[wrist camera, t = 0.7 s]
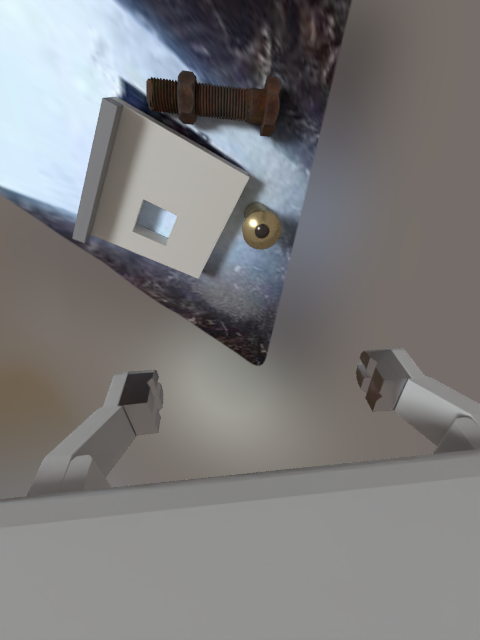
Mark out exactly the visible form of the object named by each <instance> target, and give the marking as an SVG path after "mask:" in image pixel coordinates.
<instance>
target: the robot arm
mask: <svg viewBox="0 0 480 640" xmlns="http://www.w3.org/2000/svg"><path fill="white" fill-rule="evenodd" d="M360 359H361V361H362V362H361V363H360V364H359V365H358V366H357V370H356V375H357V376H356V377H357V381H358V384H359V386H360V388H361V389H362V390H363V391H365V392H366V393H367V394H366V397H365V398H366V400H367V402H368V404H369V406H370V408H371V410H372V412H376V411H391V410H394V412H395V413H397V414H398V415H399V416H400V417H402V418H403V419H404V420H405V421H407V422H408V423H409V424H410V425H412V426H413V427H414V428H415V429H416V430H418V431H419V432H420V433H421V434H423V435H424V436H425V437H426V438H427V439H429V440H430V441H431V442H432V443H434V444H435V445H436V446H437V448H436V450H435V451H434V452H433V454H428V455H420V456H410V457H400V458H390V459H380V460H371V461H362V462H352V463H343V464H333V465H323V466H314V467H304V468H294V469H285V470H275V471H266V472H256V473H247V474H237V475H228V476H218V477H208V478H200V479H189V480H179V481H170V482H161V483H150V484H141V485H131V486H123V487H113V488H112V487H111V486H110V484H109V483H108V481H107V480H106V476H107V475H108V473H109V472H110V471H111V470H112V468H113V467H114V466H115V464H116V463H117V462H118V460H119V459H120V458H121V456H122V455H123V454H124V452H125V451H126V450H127V448H128V447H129V446H130V444H131V443H132V442H133V440H134V439H135V438H136V436H137V435H144V434H152V433H158V432H159V425H160V419H161V417H160V414H159V411H160V410H161V408H162V405H163V390H162V386H161V384H160V383H159V382H158V377H159V376H158V373H157V371H156V370H146V371H132V372H121V373H116V374H115V375H114V377H113V380H112V382H111V386H110V388H109V391H108V394H107V397H106V400H105V403H104V405H103V408H98V409H97V410H96V411H95V412H94V413H93V414H92V415H91V416H90V417H88V418H87V419H86V420H85V421H84V422H83V423H82V424H81V425H80V426H79V427H78V428H76V430H74V431H73V432H72V433H71V434H70V435H69V436H68V437H67V438H66V439H65V440H63V441H62V442H61V443H60V444H59V445H58V446H57V447H56V448H55V449H54V450H52V451H51V452H50V453H49V454H48V455H47V456H46V457H45V458H44V460H43V462H42V464H41V466H40V468H39V470H38V472H37V475H36V477H35V479H34V481H33V483H32V486H31V488H30V490H29V492H28V494H27V496H26V497H15V498H6V499H0V640H480V404H479V403H476V402H475V401H473V400H471V399H469V398H468V397H466V396H464V395H462V394H460V393H458V392H456V391H455V390H453V389H451V388H449V387H447V386H445V385H443V384H442V383H440V382H438V381H436V380H434V379H432V378H431V377H425V376H424V374H423V373H422V372H421V370H420V369H419V368H418V367H417V365H416V364H415V363H414V362H413V360H412V359H411V357H410V356H409V355H408V354H407V352H406V351H405V350H404V349H403V348H401V347H398V348H389V349H378V350H367V351H363V352H362V353H361V355H360Z"/></svg>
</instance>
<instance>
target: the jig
mask: <svg viewBox="0 0 480 640" xmlns="http://www.w3.org/2000/svg"><path fill="white" fill-rule="evenodd" d="M249 178H250V177H249V175H248V173H247V172H246V171H244V170H242V169H241V168H239V167H237V166H235V165H234V164H232V163H230V162H228V161H227V160H225V159H223V158H222V157H220V156H218V155H216V154H215V153H213V152H211V151H209V150H208V149H206V148H204V147H203V146H201V145H199V144H197V143H196V142H194V141H192V140H190V139H189V138H187V137H185V136H184V135H182V134H180V133H178V132H177V131H175V130H173V129H171V128H170V127H168V126H166V125H165V124H163V123H161V122H159V121H158V120H156V119H154V118H152V117H151V116H149V115H147V114H146V113H144V112H142V111H140V110H139V109H137V108H135V107H133V106H132V105H130V104H128V103H127V102H125V101H123V100H121V99H120V98H118V97H109V98H102V103H101V108H100V112H99V117H98V122H97V126H96V131H95V136H94V140H93V145H92V149H91V154H90V159H89V163H88V168H87V173H86V177H85V182H84V187H83V191H82V196H81V200H80V205H79V210H78V214H77V219H76V224H75V228H74V233H73V239H75V240H78V241H80V242H83V243H85V242H86V240H87V239H88V238H89V237H90V236H91V235H94V236H96V237H98V238H101V239H103V240H106V241H108V242H111V243H113V244H115V245H118V246H120V247H123V248H125V249H128V250H130V251H132V252H135V253H137V254H140V255H142V256H145V257H147V258H149V259H152V260H154V261H157V262H159V263H162V264H164V265H166V266H169V267H171V268H174V269H176V270H179V271H181V272H183V273H186V274H188V275H191V276H193V277H196V278H199V276H200V274H201V272H202V270H203V268H204V266H205V264H206V262H207V260H208V258H209V257H210V255H211V253H212V251H213V249H214V247H215V245H216V243H217V241H218V239H219V237H220V235H221V233H222V231H223V229H224V227H225V225H226V223H227V221H228V219H229V217H230V215H231V213H232V211H233V209H234V207H235V205H236V203H237V201H238V199H239V197H240V195H241V193H242V191H243V189H244V187H245V185H246V184H247V182H248V180H249ZM144 200H146V201H148V202H150V203H152V204H154V205H156V206H158V207H160V208H162V209H165V210H167V211H169V212H171V213H173V214H175V215H177V218H176V221H175V223H174V225H173V228H172V230H171V233H170V235H169V238H167V237H164V236H162V235H160V234H158V233H155V232H153V231H151V230H149V229H146V228H144V227H142V226H140V225H137V221H138V218H139V215H140V212H141V209H142V206H143V203H144Z"/></svg>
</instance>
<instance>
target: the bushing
mask: <svg viewBox="0 0 480 640" xmlns="http://www.w3.org/2000/svg"><path fill="white" fill-rule="evenodd" d="M244 217H245V220H244V222H243V226H242V232H243V237H244V240H245V241H246V243H247V244H248V245H249V246H251V247H252V248H255V249H266V248H269V247H271V246H272V245H274V244H275V243H276V242H277V240H278V239H279V237H280V234H281V224H280V222H279V220H278V218H277V216H276V215H275V214H274V213H273V212H271V211H269V210H267V208H266V207H265V205H264V204H262V203H260V202H253V203H251V204H249V205H248V206H247V207H246V209H245V212H244Z"/></svg>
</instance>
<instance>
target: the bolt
mask: <svg viewBox="0 0 480 640" xmlns="http://www.w3.org/2000/svg"><path fill="white" fill-rule="evenodd" d="M280 94H281V84H280V82H279V80H278V78H277V77H270V76H267V79H266V83H265V87H264V89H256V88H251V89H247V88H246V89H244V88H243V89H241V88H240V89H239V88H238V87H237V89H236V88H235V87H234V89H233V87H231V88H230V87H229V86H228V88H227V87H226V86H225V87H224V86H222V88H221V85H220V86H219V87H218V85H217V86H216V87H215V85H214V86H212V84H211V85H209V84H208V85H206V84H205V85H203V83H202V85H201V84H200V83H199V84H197V80H196V76H195V75H194V73H193V72H190V71H182V72H181V73H180V74H179V76H178V82H177V81H176V80H175V82H174V81H173V80H172V81H171V80H170V79H169V81H168V79H166V80H165V79H163V80H162V79H161V78H160V80H159V79H158V78H157V79H156V78H154V79H153V78H152V77H151V79H148V80H147V103H148V105H149V108H150V109H151V111H155V112H156V111H157V112H159V111H160V112H162V111H163V112H166V113H167V112H169V113H170V112H171V113H173V112H174V113H175V114H176V113H177V114H179V119H180V120H181V121H182V122H183V124H192V125H193V124H194V122H195V121H196V116H199V115H200V117H201V116H203V117H204V116H206V117H207V116H208V117H210V116H211V117H213V116H214V118H215V117H217V119H218V117H219V118H220V119H221V117H222V119H224V117H225V119H227V118H228V120H229V118H230V119H231V120H232V118H233V120H235V119H236V120H238V119H239V121H240V120H242V121H243V120H244V121H245V122H248V123H255V124H260V136H268V137H269V136H271V135H272V134H273V133H274V131H275V127H276V124H277V119H278V113H279V106H280Z"/></svg>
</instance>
